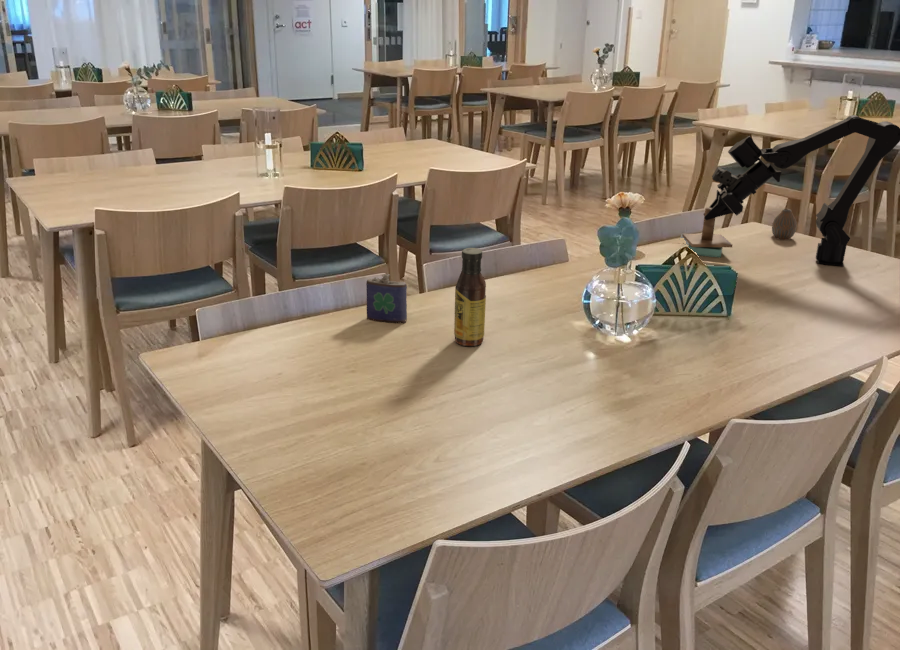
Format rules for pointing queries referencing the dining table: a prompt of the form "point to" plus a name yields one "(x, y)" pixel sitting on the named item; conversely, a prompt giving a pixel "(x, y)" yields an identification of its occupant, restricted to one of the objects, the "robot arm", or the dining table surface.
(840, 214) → the robot arm
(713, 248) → the dish
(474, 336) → the sauce bottle
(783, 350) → the dining table surface
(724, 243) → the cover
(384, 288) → the flask
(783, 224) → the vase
